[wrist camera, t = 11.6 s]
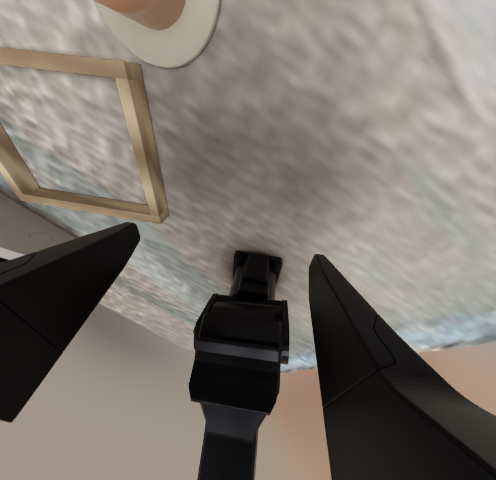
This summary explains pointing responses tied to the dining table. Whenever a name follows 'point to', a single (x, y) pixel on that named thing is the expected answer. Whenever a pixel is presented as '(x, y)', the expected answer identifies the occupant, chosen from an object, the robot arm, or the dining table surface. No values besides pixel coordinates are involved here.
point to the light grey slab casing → (25, 231)
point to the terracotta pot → (148, 11)
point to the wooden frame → (139, 125)
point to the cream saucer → (167, 34)
